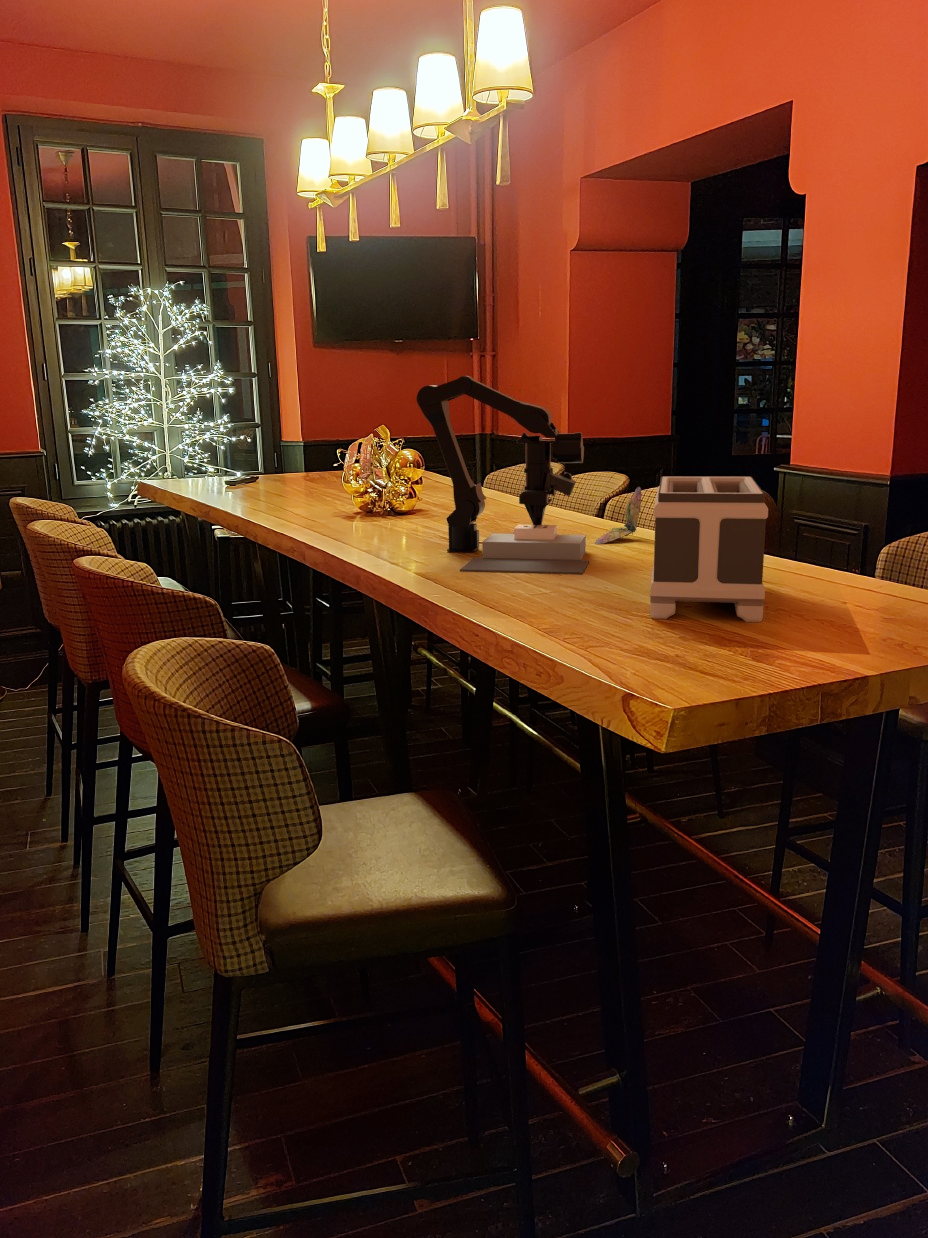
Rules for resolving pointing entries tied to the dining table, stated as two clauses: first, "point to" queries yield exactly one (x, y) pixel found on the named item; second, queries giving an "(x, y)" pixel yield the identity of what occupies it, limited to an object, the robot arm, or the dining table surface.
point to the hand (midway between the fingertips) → (538, 530)
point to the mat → (526, 565)
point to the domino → (535, 532)
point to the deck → (534, 547)
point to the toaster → (709, 544)
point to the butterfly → (632, 517)
